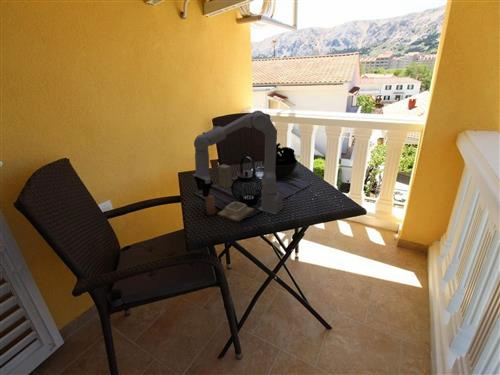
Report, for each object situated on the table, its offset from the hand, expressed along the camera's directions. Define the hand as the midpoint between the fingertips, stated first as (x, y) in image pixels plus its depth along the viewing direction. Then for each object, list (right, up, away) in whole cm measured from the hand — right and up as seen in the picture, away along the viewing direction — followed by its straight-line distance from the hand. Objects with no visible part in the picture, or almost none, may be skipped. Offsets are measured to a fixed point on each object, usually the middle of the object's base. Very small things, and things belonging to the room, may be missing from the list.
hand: (203, 192), depth 117 cm
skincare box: (+7, +3, +32) cm, 33 cm away
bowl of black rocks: (+39, +9, +42) cm, 58 cm away
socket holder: (+15, -9, +3) cm, 18 cm away
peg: (+3, -9, +5) cm, 11 cm away
